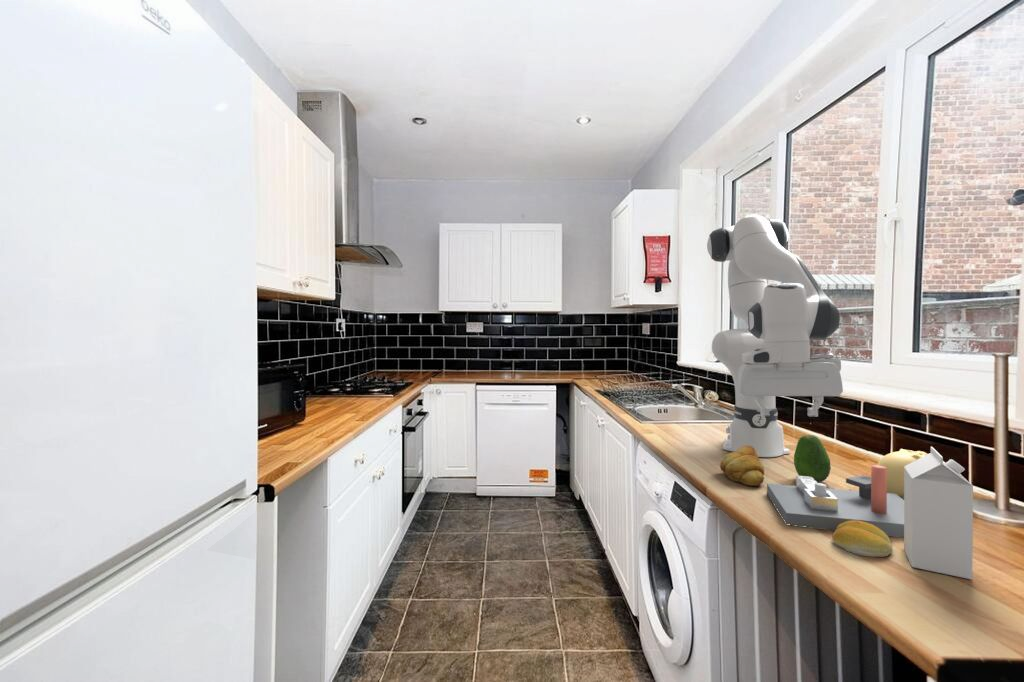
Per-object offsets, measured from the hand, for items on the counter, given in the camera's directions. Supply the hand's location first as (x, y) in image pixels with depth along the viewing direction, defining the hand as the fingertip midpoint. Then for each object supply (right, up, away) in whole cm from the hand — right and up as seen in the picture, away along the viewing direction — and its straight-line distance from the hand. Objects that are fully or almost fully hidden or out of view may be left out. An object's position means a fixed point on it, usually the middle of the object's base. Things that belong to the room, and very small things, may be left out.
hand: (788, 416), depth 98 cm
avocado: (+14, -19, +13) cm, 28 cm away
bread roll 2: (+2, -21, -18) cm, 28 cm away
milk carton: (+9, -21, -25) cm, 34 cm away
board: (+8, -20, -5) cm, 22 cm away
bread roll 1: (-2, -20, +17) cm, 26 cm away
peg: (+12, -17, -10) cm, 23 cm away
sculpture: (+30, -19, +3) cm, 36 cm away
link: (+4, -17, -3) cm, 18 cm away
